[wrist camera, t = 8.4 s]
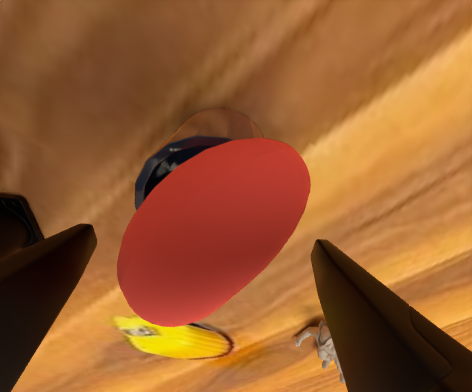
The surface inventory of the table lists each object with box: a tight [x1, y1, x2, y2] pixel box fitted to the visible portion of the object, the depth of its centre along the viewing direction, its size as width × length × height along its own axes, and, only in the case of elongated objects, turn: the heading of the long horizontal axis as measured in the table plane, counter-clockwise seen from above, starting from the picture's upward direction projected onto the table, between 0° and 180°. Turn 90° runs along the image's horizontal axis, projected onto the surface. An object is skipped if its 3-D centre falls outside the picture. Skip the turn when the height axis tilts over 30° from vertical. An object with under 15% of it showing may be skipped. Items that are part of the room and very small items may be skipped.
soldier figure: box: [294, 320, 345, 383], centre depth 28 cm, size 8×5×12 cm
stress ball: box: [117, 138, 311, 327], centre depth 9 cm, size 5×9×6 cm, turn 131°
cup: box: [135, 108, 264, 210], centre depth 14 cm, size 7×7×8 cm
